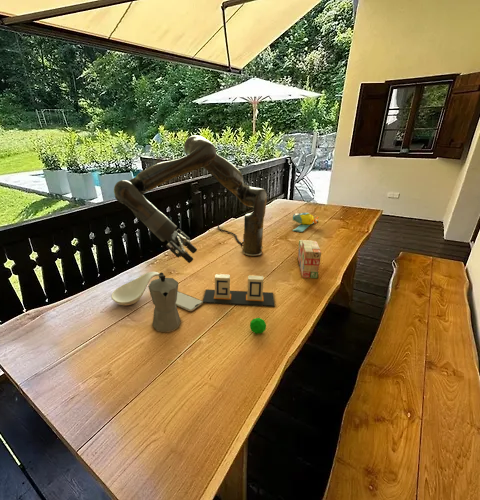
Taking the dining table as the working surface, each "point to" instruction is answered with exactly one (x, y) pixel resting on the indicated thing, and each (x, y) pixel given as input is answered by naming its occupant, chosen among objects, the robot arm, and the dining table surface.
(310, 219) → the toy airplane
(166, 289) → the coffeepot
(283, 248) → the dining table surface
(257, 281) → the upright beige pillar
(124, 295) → the spoon rest
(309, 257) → the stack of blocks
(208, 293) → the word mat
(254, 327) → the polyhedron
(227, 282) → the cream oblong block
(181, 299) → the smartphone
